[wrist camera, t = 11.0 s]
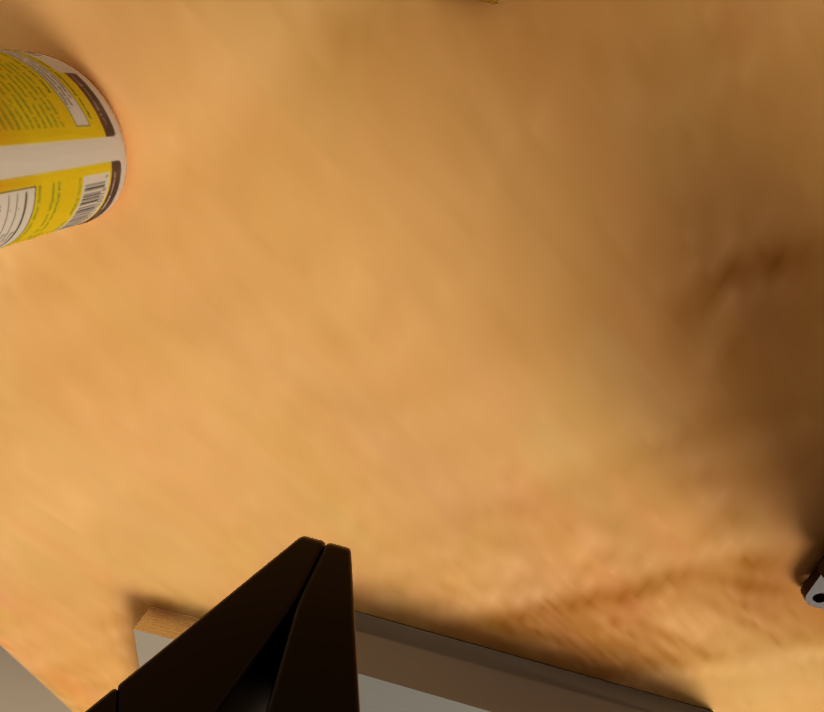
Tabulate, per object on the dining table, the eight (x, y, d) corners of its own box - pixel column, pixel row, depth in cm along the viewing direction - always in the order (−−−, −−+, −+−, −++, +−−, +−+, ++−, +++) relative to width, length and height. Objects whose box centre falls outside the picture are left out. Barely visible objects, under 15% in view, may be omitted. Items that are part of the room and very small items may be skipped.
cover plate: (329, 640, 29) (317, 675, 27) (321, 739, 33) (310, 775, 31) (156, 597, 30) (133, 629, 28) (168, 698, 34) (149, 731, 32)
